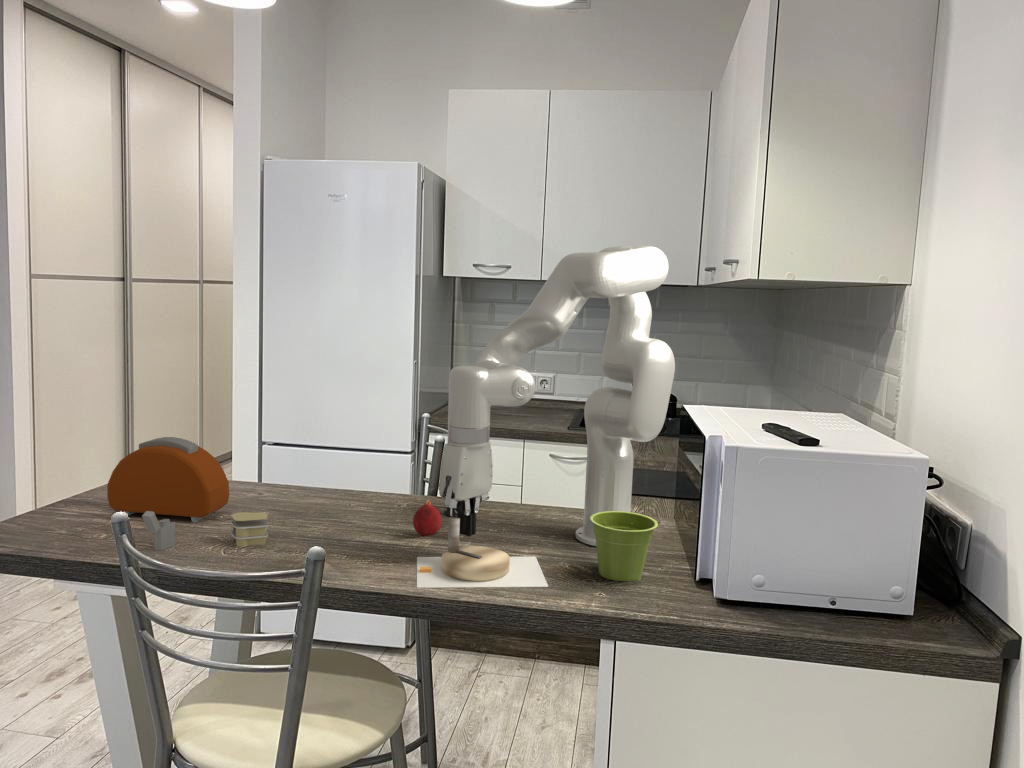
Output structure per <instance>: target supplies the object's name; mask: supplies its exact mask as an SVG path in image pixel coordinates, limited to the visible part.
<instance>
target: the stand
mask: <svg viewBox="0 0 1024 768" xmlns="http://www.w3.org/2000/svg"><path fill="white" fill-rule="evenodd" d="M509 557H510V565H509V572H508V573H507V574H506V575H504V576H502V577H499V578H496V579H491V580H481V581H474V580H463V579H458V578H454V577H451V576H449V575H447V574H445V573H444V572H443V571H442V569H441V561H442V556H417V557H416V588H418V589H419V588H420V589H425V588H428V589H433V588H434V589H435V588H437V589H438V588H442V589H443V588H445V589H446V588H452V589H453V588H547V587H549V584H548V581H547V579H546V577H545V575H544V572H543V570H542V568H541V566H540V563H539V562H538V559H537V556H509Z"/></svg>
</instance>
